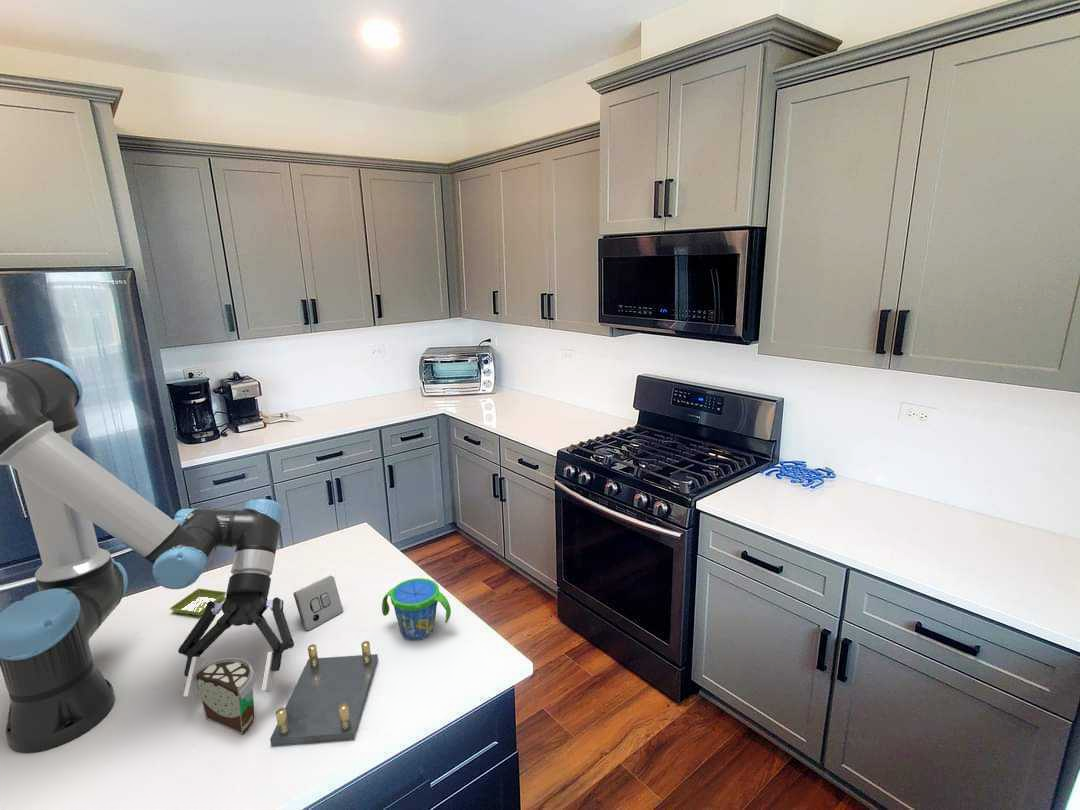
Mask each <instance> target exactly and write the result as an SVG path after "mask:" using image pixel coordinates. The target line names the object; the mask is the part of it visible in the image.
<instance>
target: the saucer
mask: <svg viewBox="0 0 1080 810" xmlns="http://www.w3.org/2000/svg"><path fill="white" fill-rule="evenodd" d="M226 593H227V591H222V590H221V591H220V590H215V589H214V590H212V589H206V588H197V589H195V590H193V591H192V592H191V593H190V594H188V595H187V596H185V597H184V598H183V599H181V600H179V601H178V602H176V603H175V604H174V605H172V606H171V607H170V608H169V609H170V610H171V611H173V612H176V613H177V612H178V614H183V613H185V615H190V614H192V616H197V615H201V616H202V615H203V614H204V611H205V609H206V607H205V608H204V606H205V604H207V603H206V602H204V603H203V605H202V606H201V604H202V603H201V604H200V605H199V606H198V607H197V609H196V611H195V612H194V610H195V608H196V607H195V608H194V610H193V611H188V610H181V609H182V608H184V607H185V606H187V605H188V604H190V603H191V602H192V601H196V599H197V598H198V597H208V598H214V599H216V600H215V601H213V602H215V603H220V602H221V601H222V600H223V599H224V597H225V596H226ZM199 599H200V598H199ZM202 601H203V600H202ZM209 601H210V600H209ZM219 601H220V602H219ZM198 602H199V601H198ZM198 602H197V603H198ZM197 603H196V604H197ZM193 604H194V603H193ZM199 608H202V610H201V611H200V612H198V611H199Z"/></svg>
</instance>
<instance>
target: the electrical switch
mask: <svg viewBox="0 0 1080 810" xmlns="http://www.w3.org/2000/svg"><path fill="white" fill-rule="evenodd" d="M293 597H294V601H295V604H296V608H297V611H298V615H299V619H300V621H301V625H303V628H304V630H306V631H310V630H313V629H314V628H316V627H318V626H320V625H322V624H323V623H325V622H327V621H329V620H331V619H332V618H334V617H336V616H338V615H340V614H342V612H343V609H344V607H343V605H342V601H341V598H340V594H339V590H338V586H337V583H336V580H335V577H334V576H333V575H331V574H330V575H328V576H325V577H324V578H321V579H319V580H317V581H315V582H313V583H311V584H309V585H306V586H305V587H303V588H300V589H299V590H296V591H295V592H293Z"/></svg>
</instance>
